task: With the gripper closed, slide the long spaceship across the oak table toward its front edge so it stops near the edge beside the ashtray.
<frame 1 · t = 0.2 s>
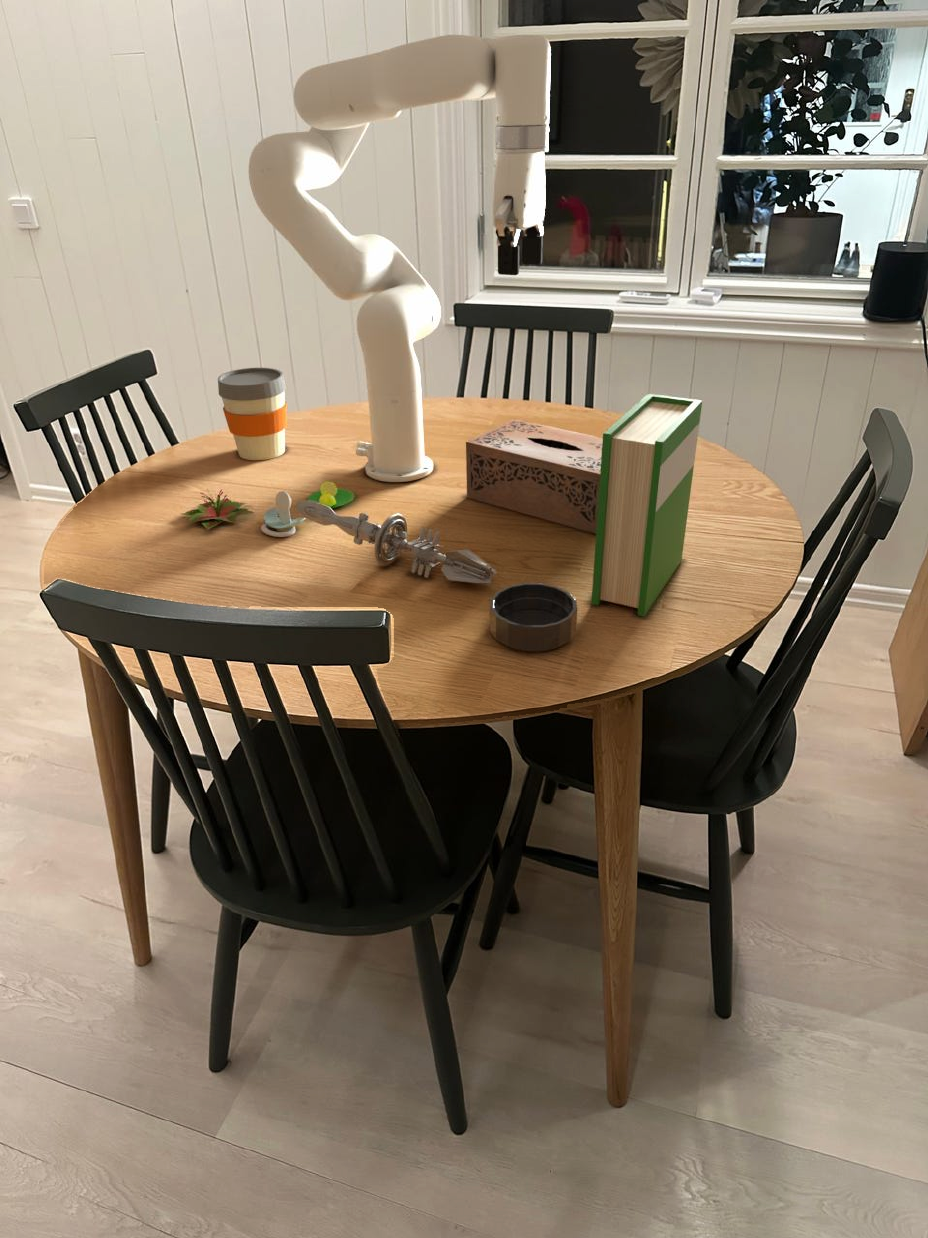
hand: (520, 268, 129), 36 cm above the table, tool pointing down, fingers open, 9 cm apart
multicoloured piece: (331, 502, 146), on the table
tissue box cover: (552, 501, 144), on the table
reusable coffee cup: (262, 452, 167), on the table
lily flower: (218, 518, 141), on the table
spaceship: (391, 564, 126), on the table
ashtray: (532, 630, 109), on the table
hardback book: (638, 582, 120), on the table
pacifier: (282, 531, 136), on the table
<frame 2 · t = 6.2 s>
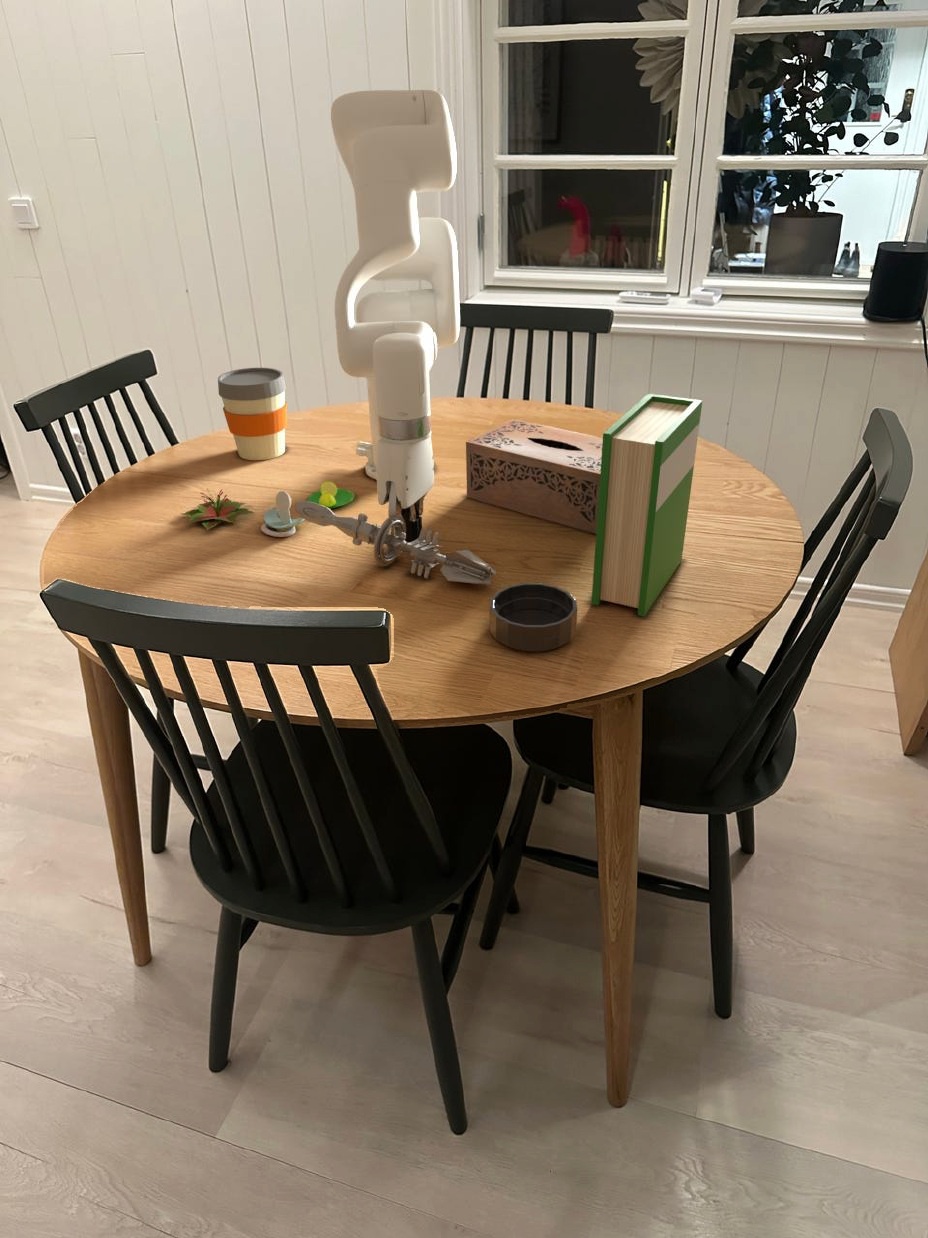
hand: (411, 540, 130), 1 cm above the table, tool pointing down, fingers closed
spaceship: (391, 565, 126), on the table, touching gripper
everything else where it was.
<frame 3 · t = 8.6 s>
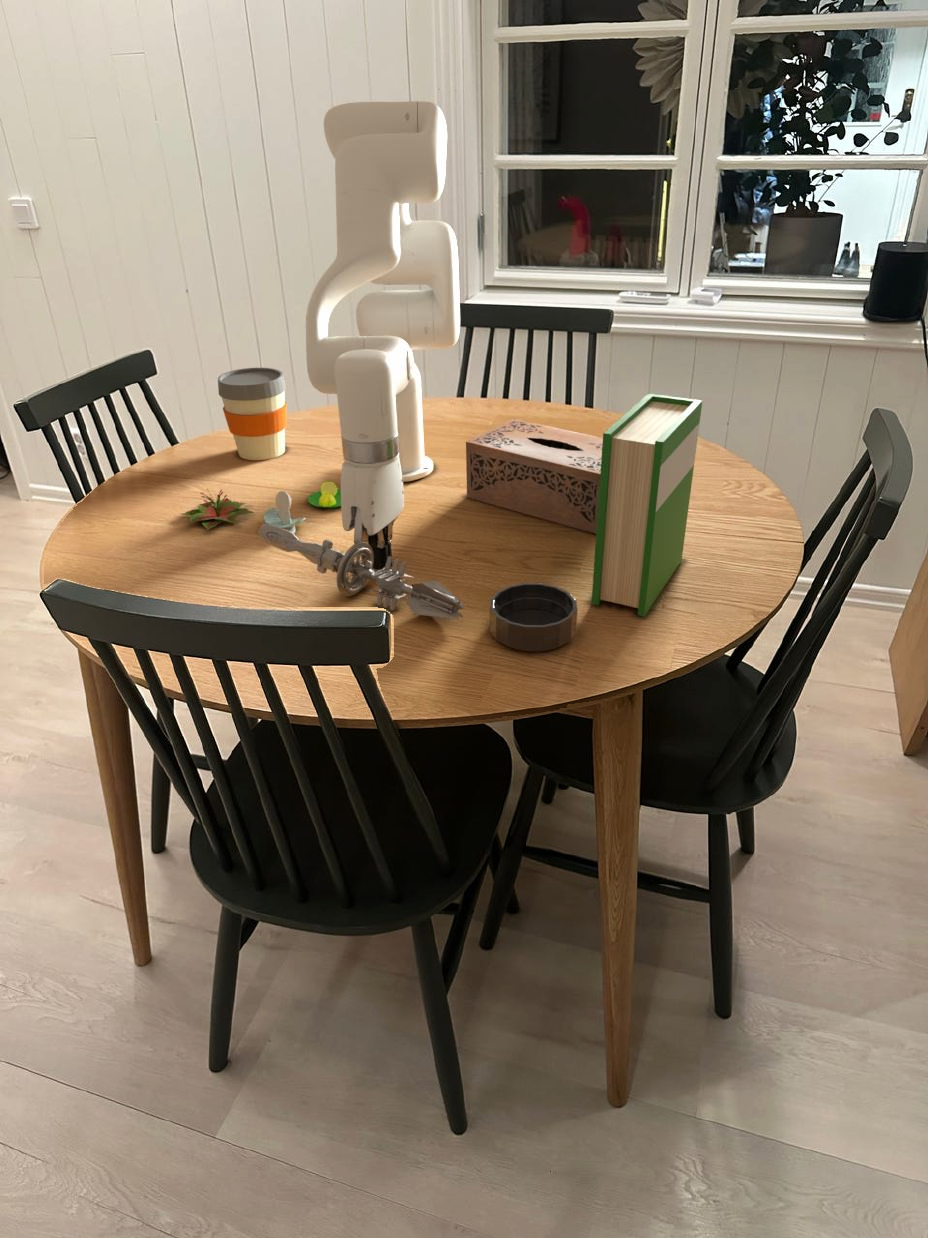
hand: (380, 567, 123), 1 cm above the table, tool pointing down, fingers closed
spaceship: (357, 594, 118), on the table, touching gripper
everything else where it was.
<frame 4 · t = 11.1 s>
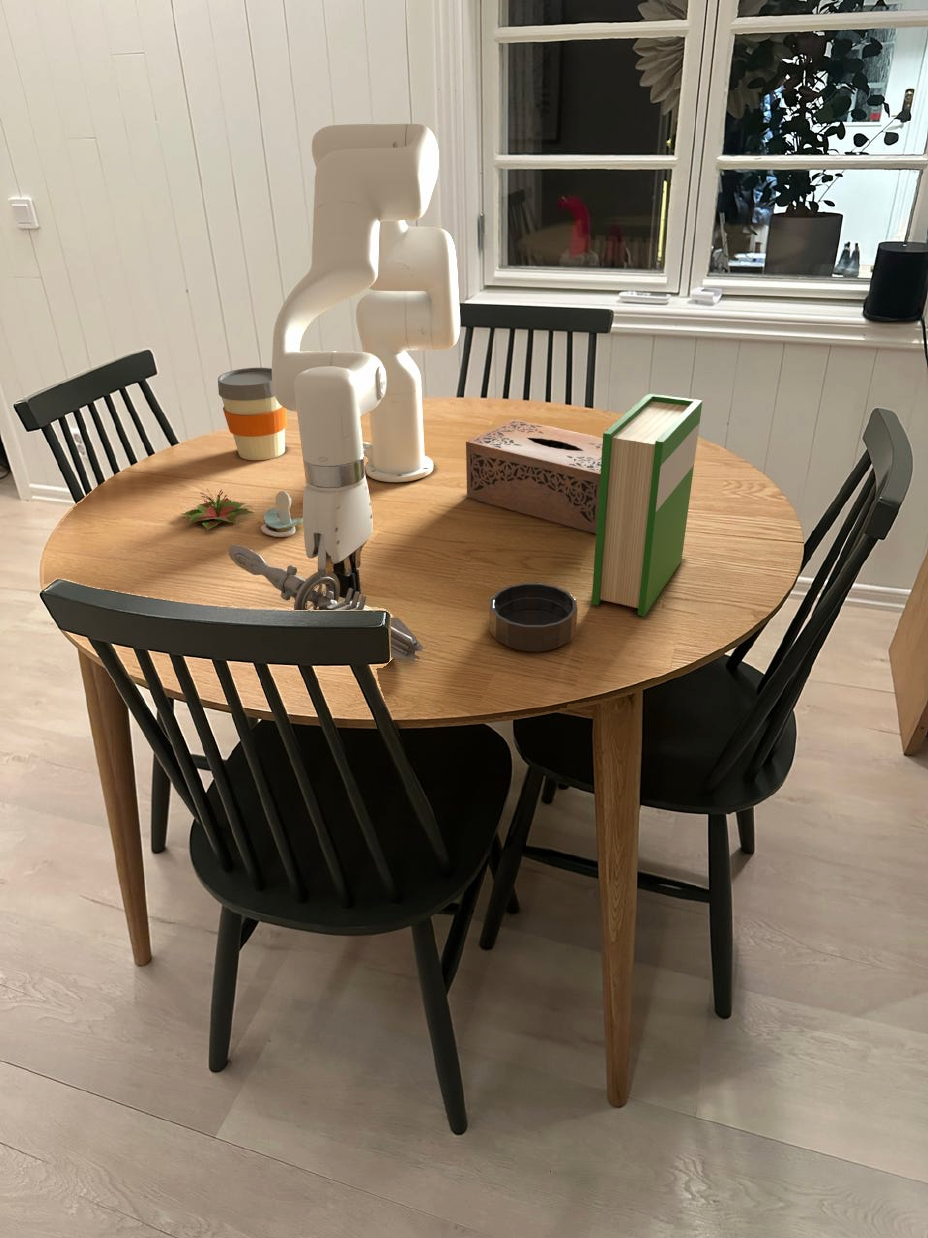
hand: (348, 595, 116), 1 cm above the table, tool pointing down, fingers closed
spaceship: (320, 625, 112), on the table, touching gripper
everything else where it was.
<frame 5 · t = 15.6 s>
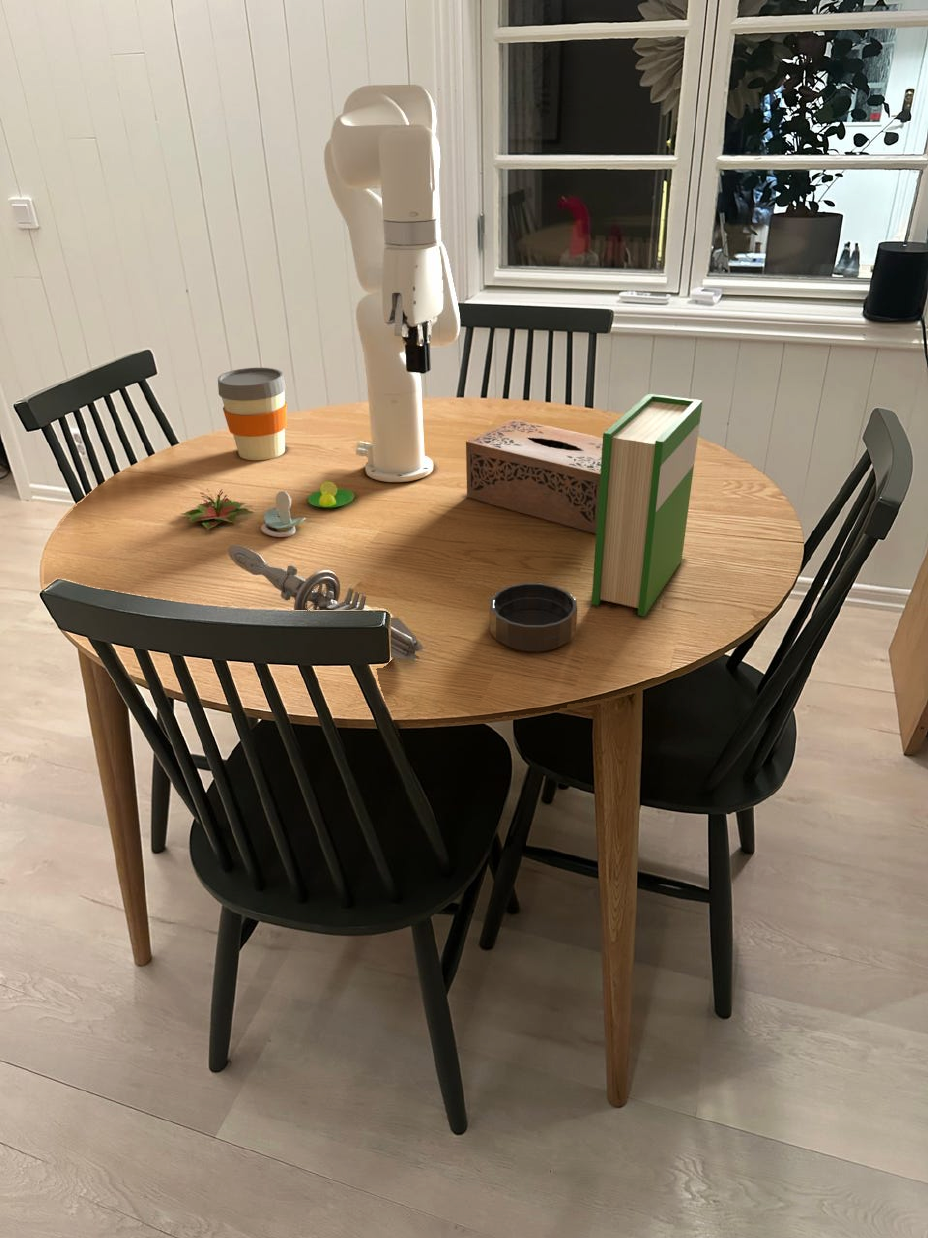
hand: (418, 371, 123), 25 cm above the table, tool pointing down, fingers closed
spaceship: (320, 625, 112), on the table
everything else where it was.
at the end: spaceship inside the target area (0.4 cm from its centre), on the table; spaceship moved 18.7 cm from its start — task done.
